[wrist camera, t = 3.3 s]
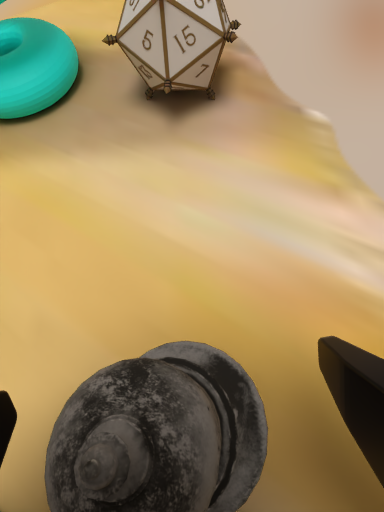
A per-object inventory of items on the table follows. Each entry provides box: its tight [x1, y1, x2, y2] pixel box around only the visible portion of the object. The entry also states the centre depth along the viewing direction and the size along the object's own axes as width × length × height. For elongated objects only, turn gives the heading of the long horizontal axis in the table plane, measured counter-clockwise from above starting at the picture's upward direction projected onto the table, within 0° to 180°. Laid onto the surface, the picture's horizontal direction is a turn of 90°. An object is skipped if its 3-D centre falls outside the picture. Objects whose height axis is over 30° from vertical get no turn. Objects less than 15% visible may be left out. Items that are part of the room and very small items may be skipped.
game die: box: [102, 0, 241, 100], centre depth 21 cm, size 9×8×10 cm
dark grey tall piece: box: [45, 341, 268, 512], centre depth 9 cm, size 6×6×12 cm
